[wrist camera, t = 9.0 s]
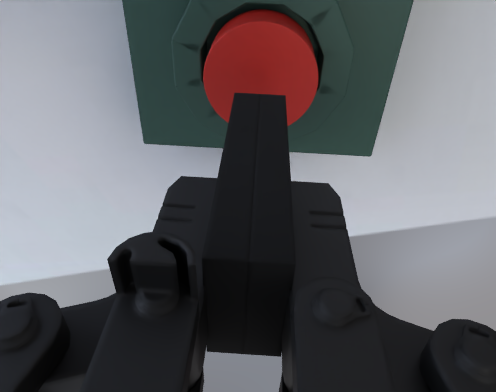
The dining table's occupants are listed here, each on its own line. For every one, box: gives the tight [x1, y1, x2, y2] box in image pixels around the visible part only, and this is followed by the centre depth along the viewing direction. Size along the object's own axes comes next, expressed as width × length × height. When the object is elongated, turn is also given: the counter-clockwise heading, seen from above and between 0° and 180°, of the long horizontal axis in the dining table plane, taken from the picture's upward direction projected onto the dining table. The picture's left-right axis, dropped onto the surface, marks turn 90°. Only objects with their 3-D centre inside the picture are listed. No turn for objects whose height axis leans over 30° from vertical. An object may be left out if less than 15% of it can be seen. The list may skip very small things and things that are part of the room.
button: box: [203, 9, 318, 126], centre depth 16 cm, size 4×4×2 cm
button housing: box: [122, 0, 413, 156], centre depth 18 cm, size 12×10×4 cm
